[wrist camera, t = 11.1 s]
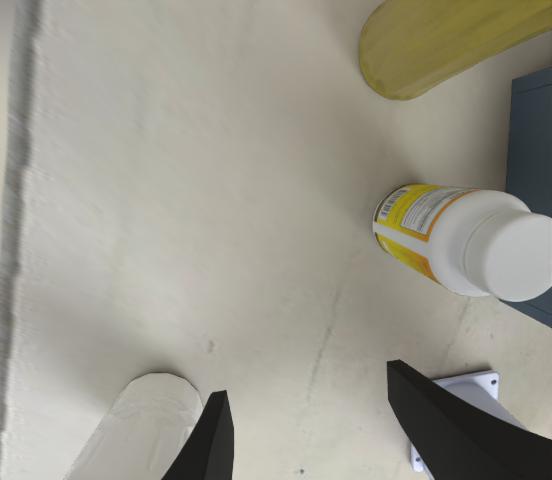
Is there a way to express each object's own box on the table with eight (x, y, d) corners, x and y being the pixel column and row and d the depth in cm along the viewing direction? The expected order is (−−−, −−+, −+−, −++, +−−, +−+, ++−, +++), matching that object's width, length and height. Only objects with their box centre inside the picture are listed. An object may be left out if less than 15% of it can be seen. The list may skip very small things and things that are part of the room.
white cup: (118, 356, 23) (26, 493, 13) (220, 374, 24) (202, 512, 15) (102, 439, 25) (9, 615, 15) (198, 452, 26) (169, 623, 16)
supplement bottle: (434, 254, 24) (571, 317, 14) (366, 256, 23) (456, 323, 13) (444, 182, 22) (603, 194, 12) (372, 182, 22) (477, 195, 12)
